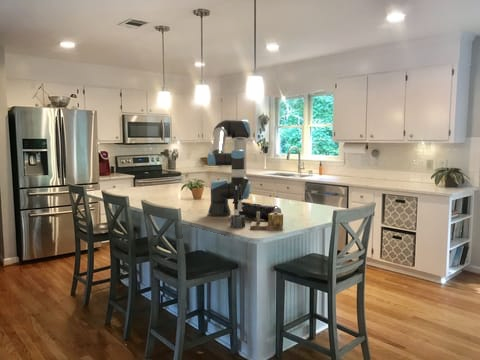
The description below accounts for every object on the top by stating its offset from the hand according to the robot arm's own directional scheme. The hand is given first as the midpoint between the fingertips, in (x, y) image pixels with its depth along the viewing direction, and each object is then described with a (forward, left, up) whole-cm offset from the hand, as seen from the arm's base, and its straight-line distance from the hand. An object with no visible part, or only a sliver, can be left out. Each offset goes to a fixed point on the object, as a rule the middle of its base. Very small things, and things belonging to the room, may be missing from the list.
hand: (237, 213), depth 228 cm
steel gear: (0, 0, -8) cm, 8 cm away
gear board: (+17, -2, -8) cm, 19 cm away
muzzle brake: (+11, +19, -8) cm, 24 cm away
